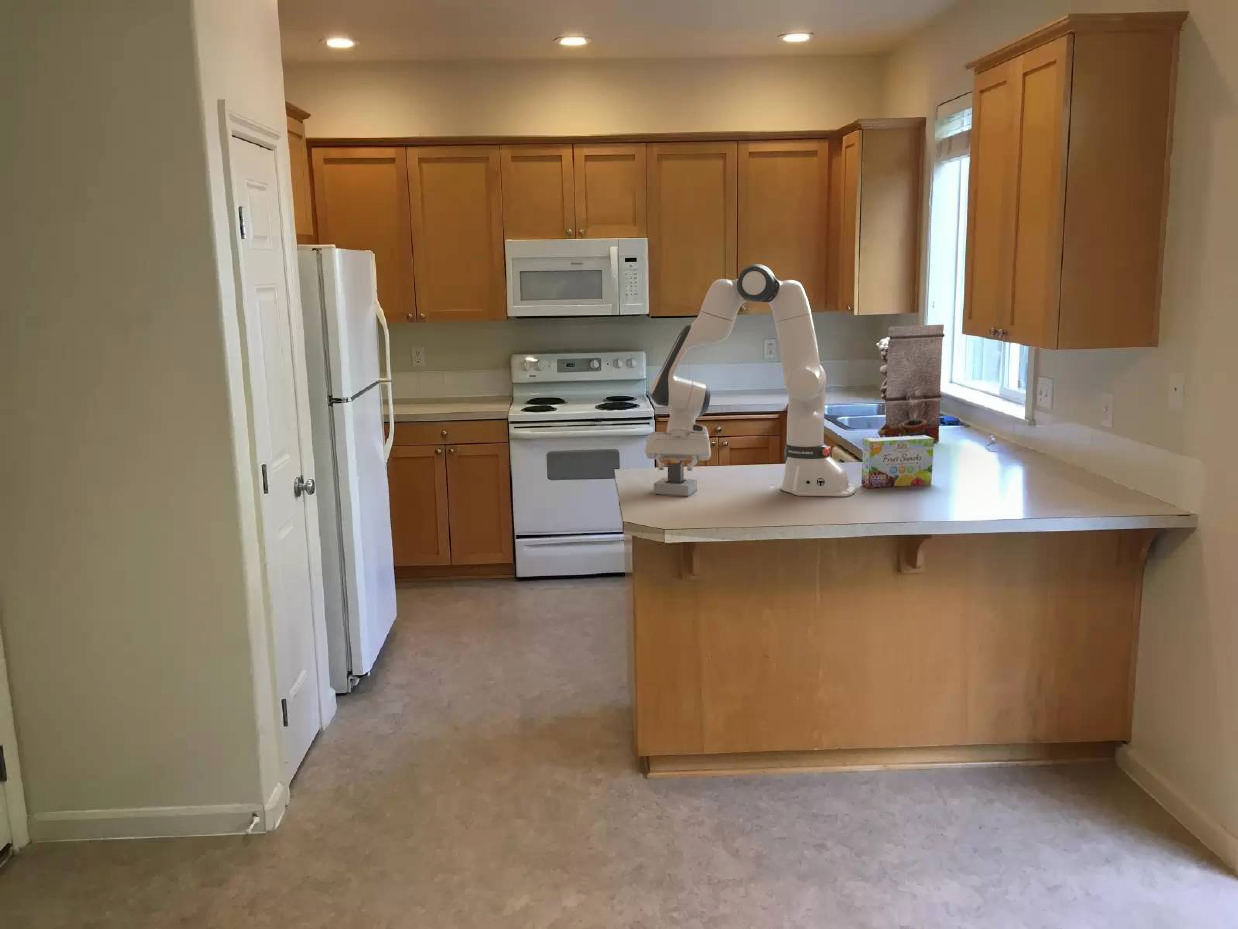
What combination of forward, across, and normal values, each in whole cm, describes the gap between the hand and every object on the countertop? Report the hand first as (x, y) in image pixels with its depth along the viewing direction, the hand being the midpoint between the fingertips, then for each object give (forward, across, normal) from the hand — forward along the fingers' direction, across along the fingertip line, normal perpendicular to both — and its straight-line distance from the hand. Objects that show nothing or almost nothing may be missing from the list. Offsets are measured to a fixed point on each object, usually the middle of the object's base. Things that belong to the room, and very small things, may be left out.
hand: (675, 469), depth 288 cm
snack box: (-10, +66, +20) cm, 70 cm away
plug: (+4, 0, +5) cm, 7 cm away
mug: (-34, +70, +45) cm, 90 cm away
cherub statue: (-66, +70, +76) cm, 123 cm away
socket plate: (+5, 0, +6) cm, 7 cm away
